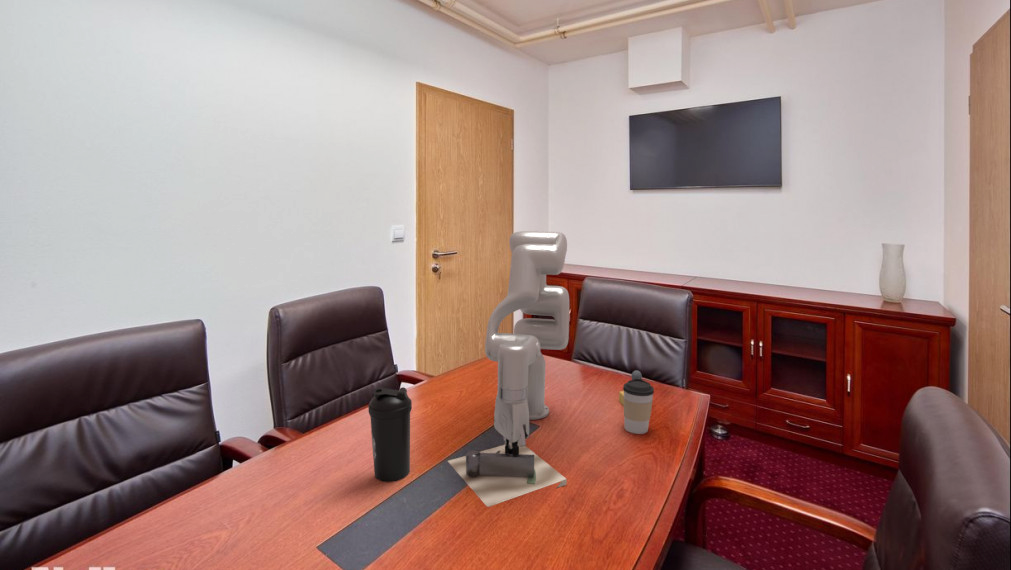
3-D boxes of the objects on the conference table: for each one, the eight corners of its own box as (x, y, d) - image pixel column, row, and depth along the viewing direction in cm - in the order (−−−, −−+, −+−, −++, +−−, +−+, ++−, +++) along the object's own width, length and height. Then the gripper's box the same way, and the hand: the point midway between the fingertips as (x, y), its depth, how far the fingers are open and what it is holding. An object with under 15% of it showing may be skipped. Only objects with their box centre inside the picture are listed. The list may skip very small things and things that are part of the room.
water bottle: (375, 467, 122) (372, 382, 119) (415, 465, 123) (413, 382, 119) (367, 490, 112) (363, 399, 109) (410, 488, 113) (408, 398, 109)
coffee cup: (652, 437, 140) (656, 389, 137) (621, 434, 142) (624, 386, 139) (649, 423, 149) (652, 378, 146) (620, 420, 150) (622, 376, 148)
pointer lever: (465, 476, 115) (464, 457, 114) (467, 468, 119) (466, 450, 118) (533, 479, 114) (534, 460, 113) (533, 471, 118) (534, 452, 117)
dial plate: (447, 466, 123) (447, 460, 123) (518, 445, 134) (518, 439, 134) (487, 513, 105) (487, 506, 104) (566, 484, 116) (566, 478, 115)
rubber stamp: (625, 407, 160) (627, 374, 159) (618, 401, 166) (620, 368, 164) (652, 406, 162) (654, 372, 160) (644, 399, 168) (646, 367, 166)
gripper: (485, 384, 121) (484, 450, 124) (516, 405, 109) (514, 478, 112) (509, 379, 125) (509, 443, 128) (542, 399, 113) (540, 470, 116)
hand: (511, 459), depth 120 cm, fingers closed
